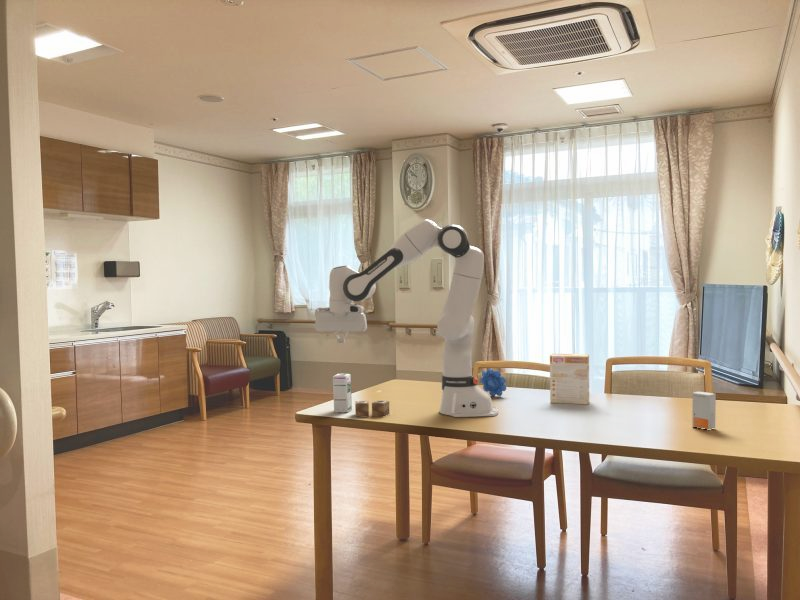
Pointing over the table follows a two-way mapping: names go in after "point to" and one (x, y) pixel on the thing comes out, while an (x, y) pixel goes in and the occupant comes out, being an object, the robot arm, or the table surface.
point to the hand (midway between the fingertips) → (341, 342)
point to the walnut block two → (380, 408)
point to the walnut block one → (362, 408)
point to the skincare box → (703, 410)
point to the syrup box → (342, 392)
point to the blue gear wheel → (493, 382)
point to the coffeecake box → (569, 378)
